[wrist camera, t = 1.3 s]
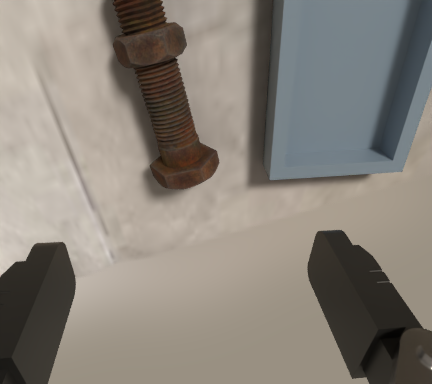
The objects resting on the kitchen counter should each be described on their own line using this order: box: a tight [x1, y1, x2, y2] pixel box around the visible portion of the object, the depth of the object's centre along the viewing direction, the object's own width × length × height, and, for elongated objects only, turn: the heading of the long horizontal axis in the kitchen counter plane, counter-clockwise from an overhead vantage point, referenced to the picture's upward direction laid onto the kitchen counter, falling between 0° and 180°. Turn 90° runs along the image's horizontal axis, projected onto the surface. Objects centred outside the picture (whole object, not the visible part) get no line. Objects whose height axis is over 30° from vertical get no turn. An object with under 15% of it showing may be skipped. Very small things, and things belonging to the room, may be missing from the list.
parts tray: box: [263, 0, 432, 180], centre depth 24 cm, size 12×21×3 cm, turn 1°
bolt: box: [113, 0, 219, 189], centre depth 24 cm, size 6×5×15 cm
